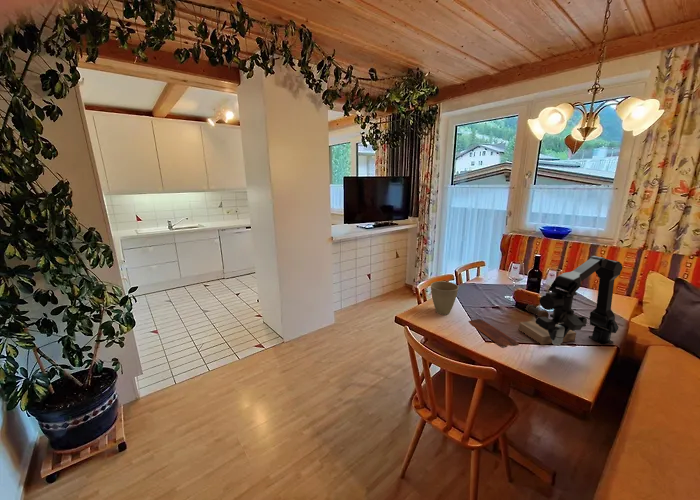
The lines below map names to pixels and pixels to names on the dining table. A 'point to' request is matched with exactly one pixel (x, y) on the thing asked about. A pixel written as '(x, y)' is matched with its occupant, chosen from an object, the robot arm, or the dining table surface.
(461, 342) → the dining table surface
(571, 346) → the dining table surface
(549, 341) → the board
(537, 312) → the bolt
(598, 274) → the robot arm
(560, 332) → the peg
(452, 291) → the plant pot
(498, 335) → the wooden tablet
